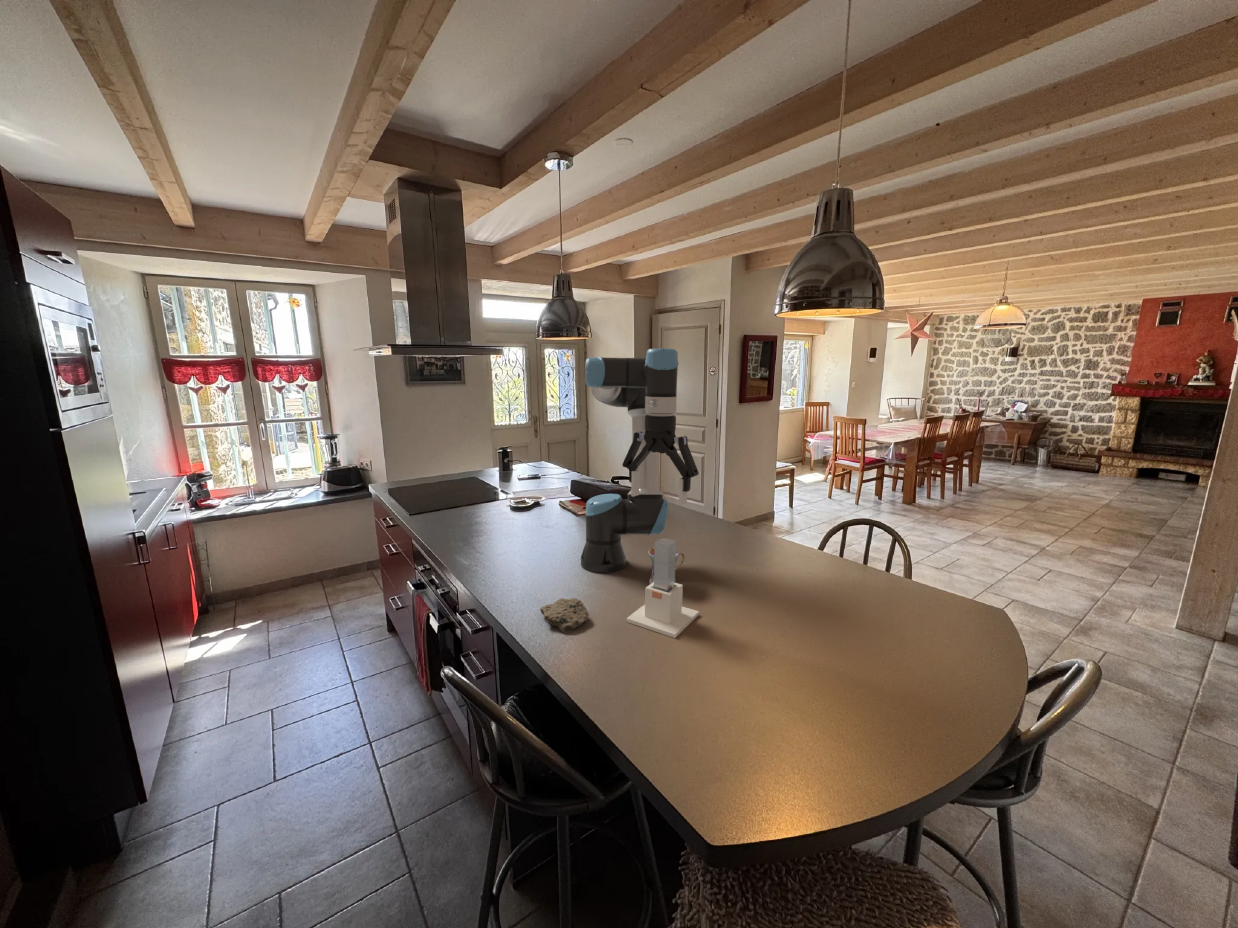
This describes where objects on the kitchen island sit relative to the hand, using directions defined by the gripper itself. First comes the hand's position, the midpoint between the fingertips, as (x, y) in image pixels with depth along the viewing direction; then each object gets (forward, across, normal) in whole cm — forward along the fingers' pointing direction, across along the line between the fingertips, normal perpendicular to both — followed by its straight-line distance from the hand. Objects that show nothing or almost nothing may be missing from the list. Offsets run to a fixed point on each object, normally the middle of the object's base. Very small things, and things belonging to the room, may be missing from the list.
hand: (658, 499), depth 122 cm
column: (+31, +1, +2) cm, 31 cm away
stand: (+32, +1, +2) cm, 33 cm away
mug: (+33, -8, +21) cm, 40 cm away
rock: (+33, -19, -14) cm, 40 cm away
